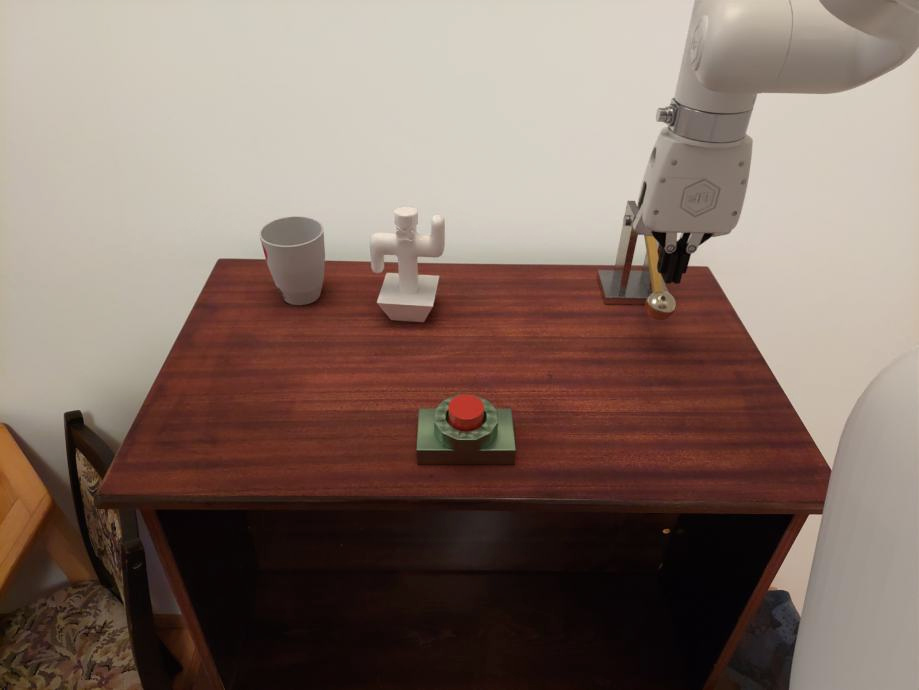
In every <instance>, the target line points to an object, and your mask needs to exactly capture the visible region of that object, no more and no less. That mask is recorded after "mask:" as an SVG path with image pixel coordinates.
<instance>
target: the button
mask: <svg viewBox="0 0 919 690" xmlns="http://www.w3.org/2000/svg"><path fill="white" fill-rule="evenodd" d="M458 395H459V396H457V397H455V398H453V399H452V400H451V401H450V403H449V407H448V419H449V423H450V424H451V426H452V427H454V428H455V429H457V430H460V431H473V430H476V429H477V428H479V427H480V426H481V425H482V423H483V419H484V404H483V402H482V401H481V400H480V399H479V398H477V397H475V396H473V395H474V394H458Z"/></svg>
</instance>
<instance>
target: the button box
mask: <svg viewBox="0 0 919 690" xmlns="http://www.w3.org/2000/svg"><path fill="white" fill-rule="evenodd" d="M459 395H460V394H456V395H453V396H450V397H448V398H446V399H443V400H441V402H440V403H439V404H438V405H437V406H436V408H432V407H431V408H430V407H428V408H427V407H426V408H424V407H423V408H421V407H420V408H418V414H417V430H416V431H417V432H416V433H417V434H416V437H417V438H416V449H415V450H416V465H515V462H516V453H517V447H516V438H515V428H514V418H513V410H512V408H496V407H495V406H494V405H493V404H492V403H491V402H490V401H489V400H488V399H485V398H483V397H480V396H479V395H475V394H472V395H473V396H475V397H477V398H479V399H480V400H481V401H482V402H483V404H484V419H483V423H482V425H481V426H480V427H479V428H477V429H476V430H473V431H460V430H457V429H455V428H454V427H452V426H451V424H450V423H449V419H448V407H449V403H450V401H451V400H452V399H453V398H455V397H457V396H459Z"/></svg>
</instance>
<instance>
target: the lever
mask: <svg viewBox="0 0 919 690" xmlns="http://www.w3.org/2000/svg"><path fill="white" fill-rule="evenodd" d="M638 236H643V237H644V238H643V239H644V243H645V250H646V251H647V258H648V264H649V271H650V277H651V284H652V290H653V293H652V294H651V295H650V296H649V297H648V298H647V300H646V303H645V305H644V308H645V311H646V313H647V315H648V316H649V318H651V319H653V320H655V321H666V320H668V319H669V318H671V317H672V316H673V315H674V314H675V312H676V309H677V302H676V298H675V297H674V295H672V294H671V293H670V292H669V291H668V292H669V293H668V292H665V291H664V288H663V282H662V278H663V277H662V275H661V273H658V270H657V263H658V259H659V258H658V251H657V245H656V239H655V238H654V237H653V236H647V235H643V234H639V233H638ZM646 251H645V252H646Z"/></svg>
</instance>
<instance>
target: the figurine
mask: <svg viewBox="0 0 919 690" xmlns="http://www.w3.org/2000/svg"><path fill="white" fill-rule="evenodd" d="M393 213H394V215H393V217H394V225H395V233H394V232H375V233H373V234H372V235H371V236H370V239H369V254H370V267H371V271H372V272H373V273H374V274H381V273H382V272H383V271H384V269H385V256H396V257H397V268H398V269H397V271H398V272H386V273H385V276H384V279H383V282H382V285H381V289H380V292H379V295H378V297H377V300H376V304H377V306H378V307H379V308H380V309H381V310H382V311H383V312H384V313H385V314H386V316H387V317H388V318H389V319H390V321H397V322H398V321H399V322H413V323H415V322H416V323H425V321H426V319H427V318H428V316H429V315H430V313H431V311H432V309H433V308H434V303H435V299H436V294H437V290H438V285H439V280H440V275H433V274H419V267H418V266H419V265H418V263H419V261H418V258H434V259H435V258H440V257H442V255H443V254H444V251H445V246H446V244H445V243H446V242H445V241H446V222H445V221H446V220H445V217H444V216H443V215H442V214H439V213H438V214H435V215H433V216H432V218H431V222H430V226H431V227H430V234H419V233H418V230H417V226H418V224H419V212H418V209H417V208H414V207H411V206H401V207H397V208H396V209H394V211H393Z"/></svg>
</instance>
